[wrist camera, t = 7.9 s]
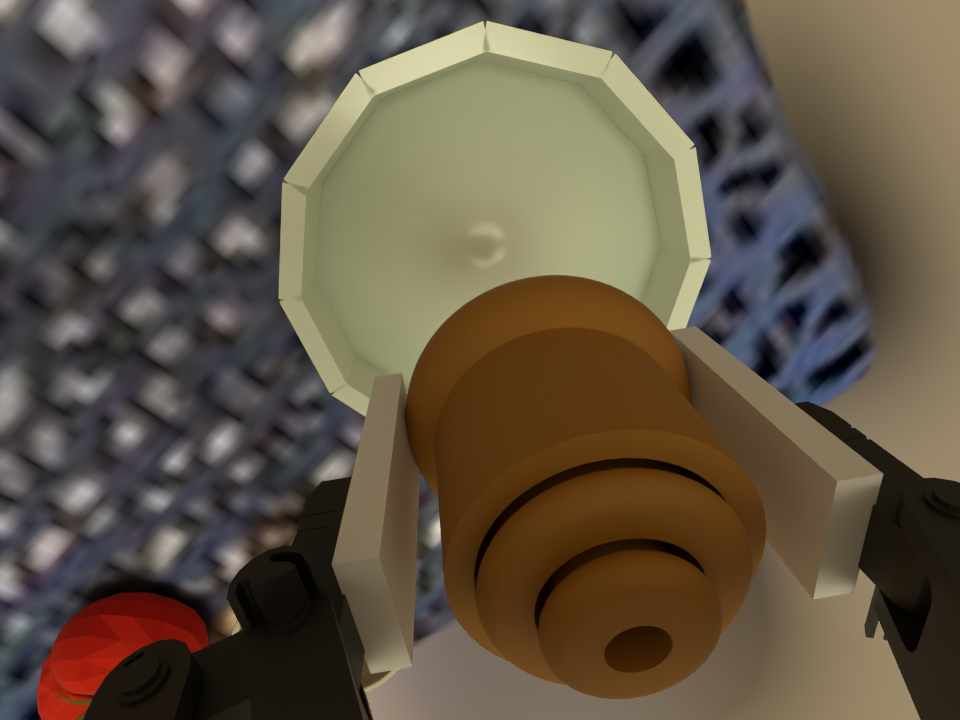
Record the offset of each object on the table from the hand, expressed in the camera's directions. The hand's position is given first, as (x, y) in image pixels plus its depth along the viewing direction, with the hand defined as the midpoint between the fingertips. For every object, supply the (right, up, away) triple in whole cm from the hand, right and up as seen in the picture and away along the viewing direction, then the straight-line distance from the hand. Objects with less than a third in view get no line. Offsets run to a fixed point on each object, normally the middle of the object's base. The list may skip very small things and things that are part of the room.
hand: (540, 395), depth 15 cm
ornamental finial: (0, 0, 0) cm, 1 cm away
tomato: (-26, -19, +24) cm, 40 cm away
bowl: (-1, +7, +14) cm, 15 cm away
